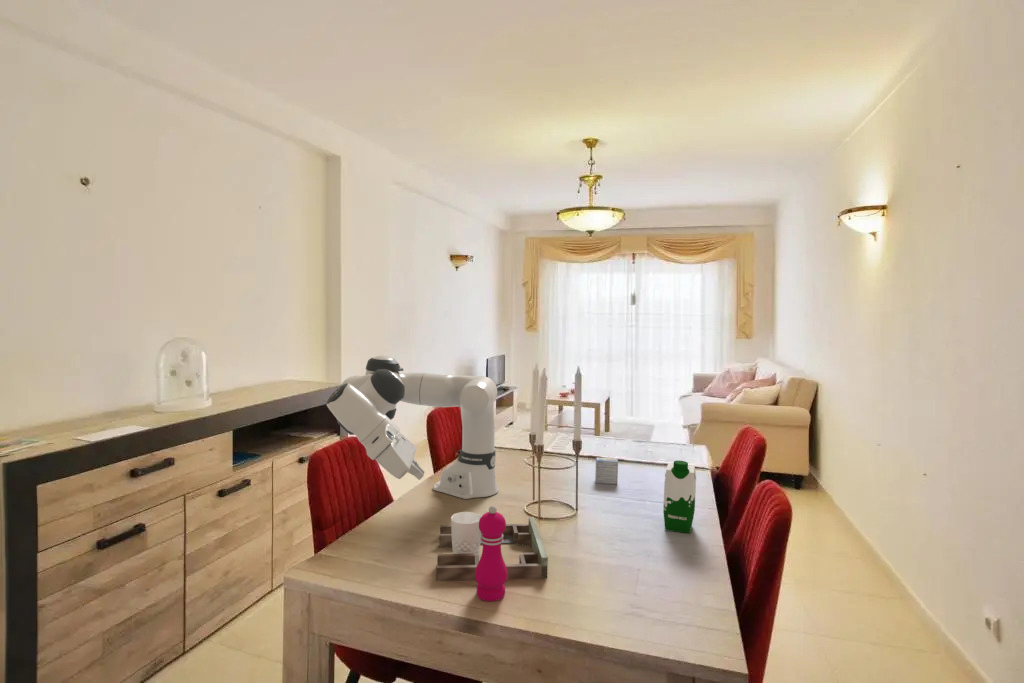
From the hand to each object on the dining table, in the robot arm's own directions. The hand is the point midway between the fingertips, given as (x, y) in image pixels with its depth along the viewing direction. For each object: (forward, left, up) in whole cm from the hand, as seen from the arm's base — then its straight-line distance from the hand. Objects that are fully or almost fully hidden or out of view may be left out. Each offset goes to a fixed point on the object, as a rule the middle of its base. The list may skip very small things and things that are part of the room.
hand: (422, 476), depth 138 cm
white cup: (+9, +6, -21) cm, 24 cm away
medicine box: (+25, +82, -21) cm, 89 cm away
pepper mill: (+23, -8, -21) cm, 32 cm away
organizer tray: (+14, +9, -21) cm, 27 cm away
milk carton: (+55, +51, -21) cm, 79 cm away
